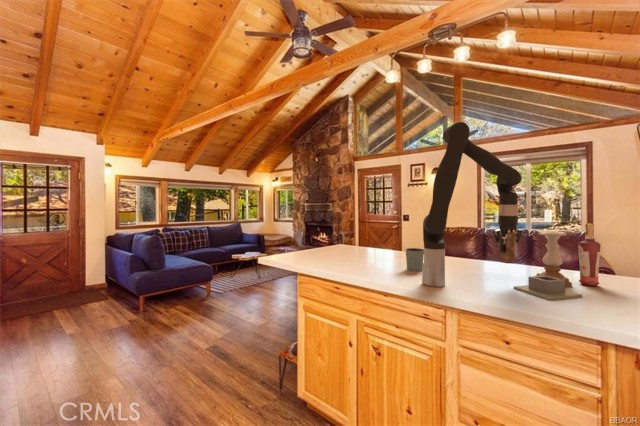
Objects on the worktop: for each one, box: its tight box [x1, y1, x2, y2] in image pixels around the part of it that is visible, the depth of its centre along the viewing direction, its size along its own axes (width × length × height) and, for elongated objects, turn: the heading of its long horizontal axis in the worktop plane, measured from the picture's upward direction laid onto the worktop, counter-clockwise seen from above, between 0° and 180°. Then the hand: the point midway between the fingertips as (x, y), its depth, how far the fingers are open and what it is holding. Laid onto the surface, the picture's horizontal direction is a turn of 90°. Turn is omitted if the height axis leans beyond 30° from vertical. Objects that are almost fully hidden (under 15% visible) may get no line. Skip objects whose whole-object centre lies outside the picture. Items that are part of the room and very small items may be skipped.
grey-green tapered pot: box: [405, 247, 424, 273], centre depth 164 cm, size 10×10×12 cm
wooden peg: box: [499, 232, 516, 264], centre depth 130 cm, size 4×4×14 cm
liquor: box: [578, 223, 602, 287], centre depth 129 cm, size 7×7×28 cm
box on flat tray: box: [513, 275, 583, 301], centre depth 119 cm, size 16×16×6 cm
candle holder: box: [535, 230, 573, 288], centre depth 133 cm, size 11×11×24 cm
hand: (507, 251), depth 130 cm, fingers closed on wooden peg, 4 cm apart
